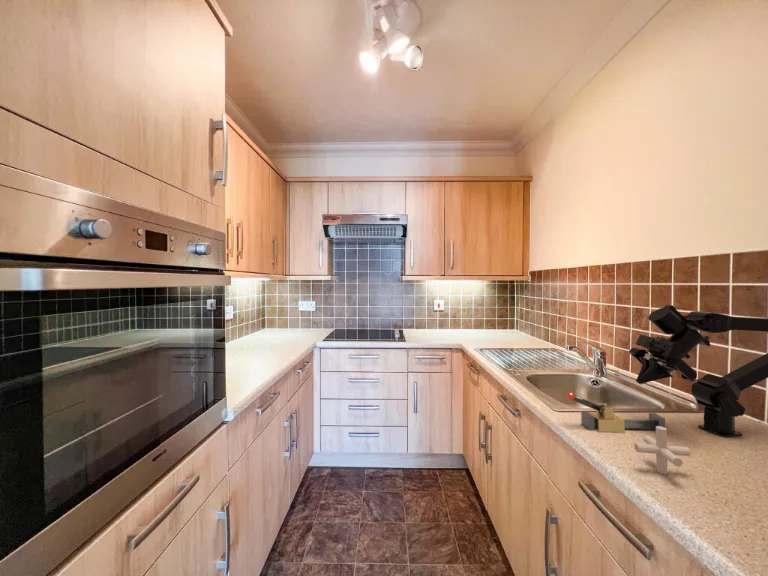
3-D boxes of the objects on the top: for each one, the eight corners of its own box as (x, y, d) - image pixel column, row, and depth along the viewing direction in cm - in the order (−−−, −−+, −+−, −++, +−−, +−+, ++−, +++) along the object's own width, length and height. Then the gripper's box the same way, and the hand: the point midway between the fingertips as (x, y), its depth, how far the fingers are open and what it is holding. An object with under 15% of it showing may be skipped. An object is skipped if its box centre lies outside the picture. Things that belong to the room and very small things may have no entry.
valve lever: (608, 407, 93) (566, 389, 95) (614, 410, 91) (570, 392, 92) (605, 414, 93) (562, 397, 95) (610, 418, 91) (566, 400, 92)
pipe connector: (706, 488, 64) (705, 440, 64) (650, 483, 66) (650, 436, 66) (671, 461, 74) (671, 420, 74) (624, 457, 76) (623, 417, 76)
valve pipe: (652, 425, 93) (652, 403, 93) (667, 433, 88) (667, 411, 88) (580, 423, 96) (579, 402, 96) (590, 431, 90) (589, 409, 90)
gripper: (634, 322, 100) (598, 356, 101) (684, 330, 81) (639, 371, 82) (661, 346, 99) (624, 380, 100) (717, 360, 80) (671, 402, 82)
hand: (637, 382), depth 91 cm, fingers closed
